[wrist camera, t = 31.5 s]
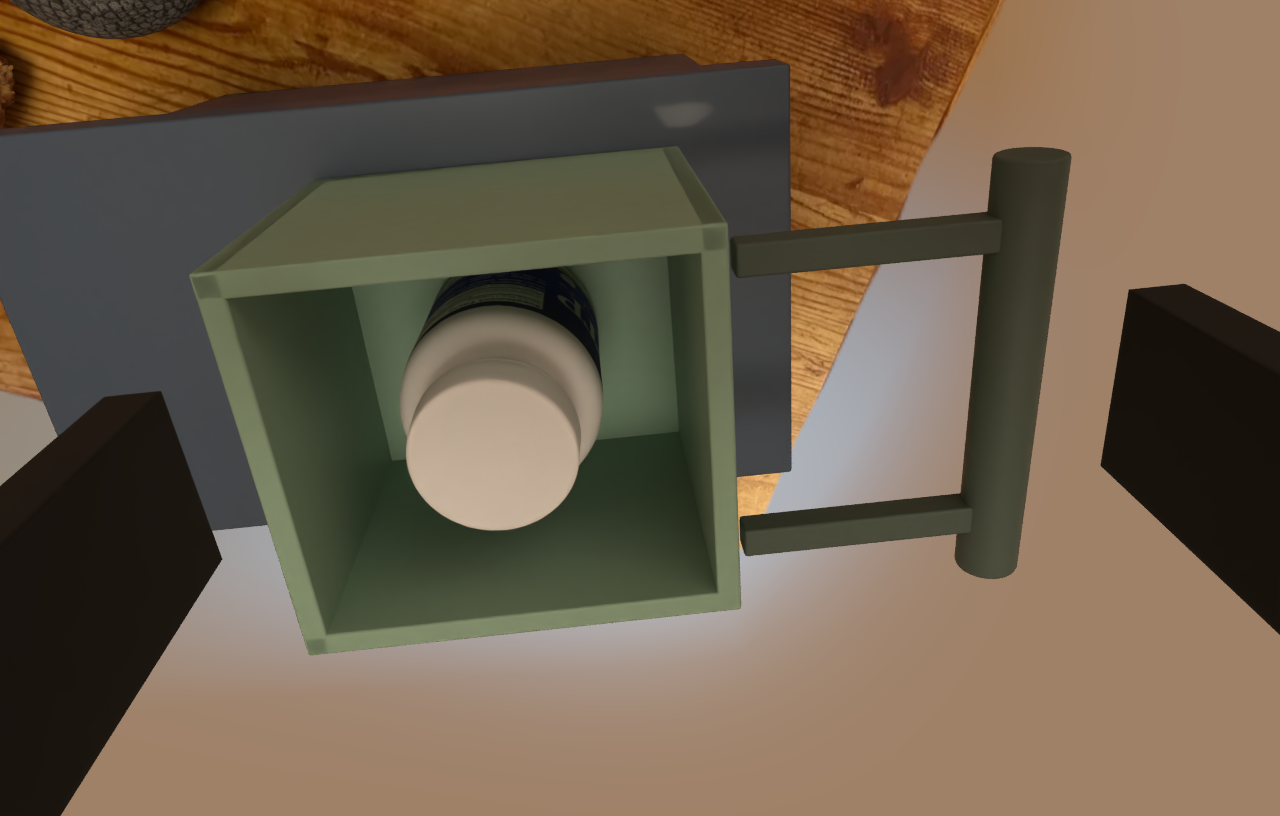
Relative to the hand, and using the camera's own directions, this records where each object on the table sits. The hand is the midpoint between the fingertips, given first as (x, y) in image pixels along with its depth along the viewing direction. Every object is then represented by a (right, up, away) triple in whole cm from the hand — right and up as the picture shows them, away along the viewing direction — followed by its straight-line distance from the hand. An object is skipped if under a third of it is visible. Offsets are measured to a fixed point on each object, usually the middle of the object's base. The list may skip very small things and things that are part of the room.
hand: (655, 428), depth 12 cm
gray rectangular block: (-9, +12, +35) cm, 38 cm away
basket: (0, +4, +16) cm, 17 cm away
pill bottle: (-4, +3, +16) cm, 17 cm away
